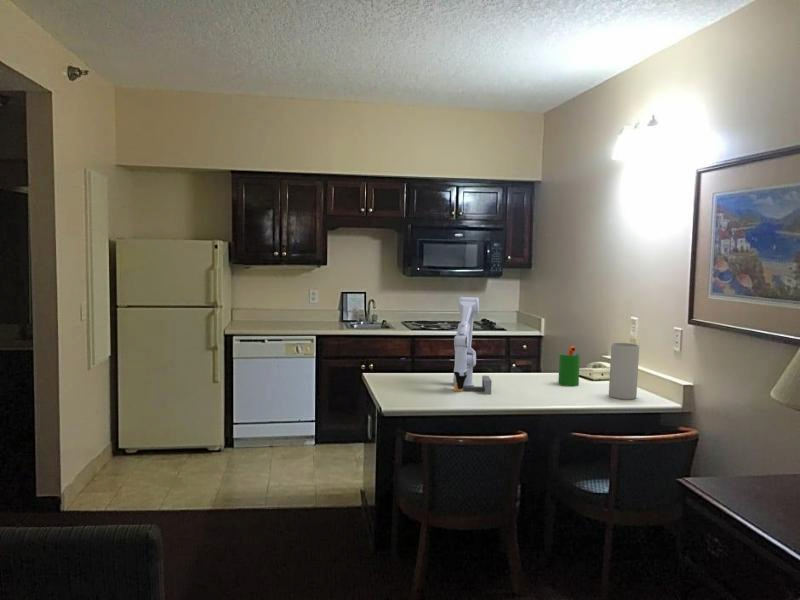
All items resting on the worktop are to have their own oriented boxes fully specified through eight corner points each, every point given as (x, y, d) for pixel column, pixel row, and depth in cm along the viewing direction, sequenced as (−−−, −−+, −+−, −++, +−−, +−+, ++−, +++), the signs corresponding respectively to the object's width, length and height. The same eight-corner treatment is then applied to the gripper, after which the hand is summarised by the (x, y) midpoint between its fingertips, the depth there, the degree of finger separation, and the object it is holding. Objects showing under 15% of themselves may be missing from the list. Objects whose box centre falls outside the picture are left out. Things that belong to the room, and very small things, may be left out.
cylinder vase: (604, 393, 317) (607, 342, 315) (629, 394, 318) (632, 342, 316) (614, 399, 305) (617, 346, 303) (640, 400, 306) (643, 347, 303)
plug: (454, 391, 314) (454, 384, 314) (454, 389, 318) (454, 382, 318) (483, 392, 314) (484, 384, 314) (482, 390, 318) (483, 383, 318)
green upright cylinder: (572, 382, 342) (574, 344, 340) (582, 385, 334) (584, 347, 332) (555, 383, 339) (557, 344, 337) (565, 386, 331) (567, 347, 329)
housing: (484, 393, 310) (485, 380, 310) (481, 388, 322) (482, 375, 321) (491, 394, 310) (491, 380, 310) (487, 388, 322) (488, 375, 321)
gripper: (470, 362, 308) (469, 391, 309) (467, 357, 322) (466, 384, 323) (455, 362, 308) (454, 390, 309) (453, 357, 322) (452, 384, 323)
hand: (459, 387), depth 316 cm, fingers closed on plug, 4 cm apart
